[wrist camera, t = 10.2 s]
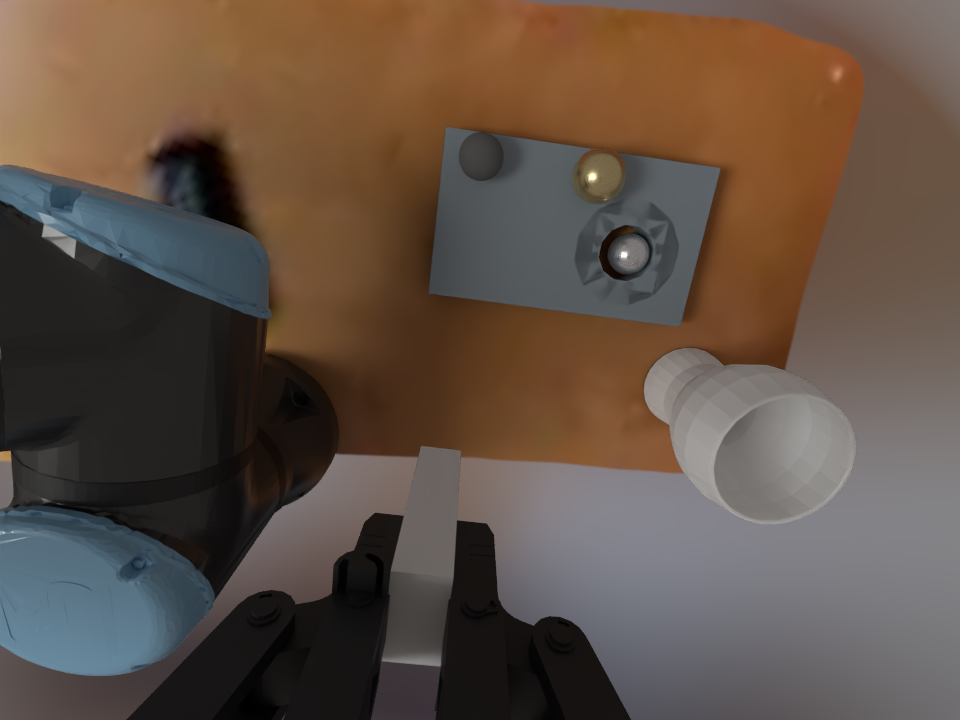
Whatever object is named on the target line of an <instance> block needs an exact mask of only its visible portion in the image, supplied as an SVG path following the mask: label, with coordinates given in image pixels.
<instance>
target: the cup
mask: <svg viewBox="0 0 960 720" xmlns="http://www.w3.org/2000/svg"><path fill="white" fill-rule="evenodd" d="M644 397H645V402H646V404H647V406H648V408H649V410H650V411H651V412H652V413H653V414H654V415H655V416H656V417H657V418H659V419H660V420H662V421H663V422H665V423H667V424H668V425H670V426H669V428H670V435H671V442H672V445H673V449H674V453H675V457H676V459H677V461H678V463H679V465H680V467H681V469H682V471H683V472H684V473H685V475H686V476H687V477H688V478H689V479H690V480H691V481H692V483H693V484H694V485H695V486H696V487H697V488H698V489H699V491H700V492H701V493H702V494H703V495H704V496H705V497H707V498H708V499H710V500H711V501H713V502H715V503H716V504H718V505H719V506H721V507H723V508H724V509H726V510H727V511H729V512H731V513H733V514H734V515H736V516H738V517H739V518H741V519H743V520H747V521H751V522H755V523H759V524H781V523H786V522H791V521H796V520H798V519H800V518H803V517H805V516H807V515H809V514H812V513H814V512H816V511H817V510H818V509H820V508H821V507H823V506H824V505H825V504H827V503H828V502H830V501H831V499H832V498H833V497H834V496H835V495H836V494H837V493H838V492H839V491H840V490H841V489H842V487H843V485H844V484H845V482H846V480H847V479H848V477H849V475H850V474H851V472H852V468H853V464H854V461H855V457H856V437H855V434H854V431H853V429H852V426H851V423H850V421H849V419H848V418H847V417H846V416H845V415H844V413H843V412H842V410H841V409H840V408H839V407H838V406H837V405H836V404H835V403H833V401H832V400H830V399H829V398H828V397H827V396H826V395H825V394H824V393H823V392H822V391H820V389H818V388H817V387H815V386H814V385H812V384H811V383H809V382H808V381H806V380H805V379H803V378H801V377H799V376H796V375H794V374H792V373H790V372H788V371H785V370H782V369H779V368H776V367H772V366H769V365H748V364H730V365H726V366H724V365H723V364H722V363H721V362H720V361H719V360H717V359H716V358H715V357H714V356H712V355H711V354H709V353H708V352H706V351H704V350H700V349H697V348H682V349H678V350H674V351H672V352H670V353H668V354H666V355H664V356H663V357H661V358H660V359H659V360H658V361H657V362H655V364H654V365H653V366H652V368H651V369H650V370H649V372H648V375H647V377H646V379H645V384H644Z"/></svg>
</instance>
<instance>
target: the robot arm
mask: <svg viewBox="0 0 960 720" xmlns="http://www.w3.org/2000/svg"><path fill="white" fill-rule="evenodd" d="M269 271H270V264H269V258H268V255H267V252H266V250H265V248H264V247H263V245H262V244H261V243H260V242H259V241H258V240H257V239H256V238H255V237H254V236H252V235H251V234H249V233H248V232H246V231H244V230H242V229H239V228H237V227H234V226H231V225H228V224H225V223H223V222H220V221H217V220H213V219H210V218H207V217H204V216H201V215H198V214H195V213H191V212H188V211H185V210H182V209H178V208H175V207H171V206H168V205H164V204H161V203H158V202H154V201H151V200H147V199H144V198H140V197H137V196H133V195H130V194H126V193H123V192H119V191H115V190H112V189H108V188H104V187H101V186H97V185H93V184H89V183H86V182H82V181H78V180H74V179H69V178H65V177H60V176H56V175H52V174H46V173H43V172H39V171H36V170H33V169H29V168H25V167H19V166H14V165H2V166H0V452H2V451H11V460H12V478H13V499H12V501H11V503H10V505H9V506H8V507H6V508H2V509H0V645H1V646H3V647H5V648H6V649H7V650H9V651H10V652H12V653H14V654H16V655H18V656H20V657H21V658H23V659H26V660H28V661H31V662H33V663H36V664H38V665H41V666H44V667H47V668H51V669H54V670H58V671H62V672H67V673H72V674H80V675H92V676H108V675H119V674H125V673H130V672H133V671H137V670H140V669H142V668H145V667H147V666H148V665H150V664H151V663H154V662H157V661H159V660H162V659H163V658H165V657H167V656H168V655H169V654H170V653H172V652H173V651H174V650H175V649H176V648H177V647H178V646H179V645H180V644H181V643H182V642H183V640H184V639H185V638H186V637H187V635H188V634H189V633H190V632H191V631H192V630H193V629H194V627H196V625H197V624H198V623H199V622H200V621H201V620H202V619H204V617H205V616H206V615H207V614H208V613H209V611H210V610H211V609H212V607H213V602H214V601H215V599H216V598H217V596H218V595H219V593H220V592H221V591H222V589H223V588H224V586H225V584H226V583H227V582H228V580H229V579H230V577H231V576H232V574H233V573H234V571H235V570H236V569H237V567H238V566H239V564H240V563H241V561H242V560H243V558H244V557H245V556H246V554H247V553H248V551H249V550H250V548H251V547H252V545H253V544H254V542H255V541H256V539H257V538H258V537H259V535H260V534H261V532H262V531H263V529H264V528H265V526H266V525H267V523H268V522H269V520H270V519H271V518H272V516H273V515H274V513H275V512H277V511H278V510H279V509H281V508H282V507H283V506H285V505H287V504H290V503H292V502H294V501H296V500H298V499H299V498H301V497H303V496H304V495H305V494H307V493H308V492H309V491H310V490H311V489H312V488H314V486H316V484H317V483H318V482H319V481H320V480H321V478H322V477H323V475H324V474H325V472H326V471H327V469H328V467H329V466H330V464H331V462H332V460H333V458H334V456H335V453H336V449H337V445H338V423H337V418H336V414H335V411H334V409H333V406H332V404H331V402H330V400H329V398H328V396H327V395H326V393H325V392H324V390H323V389H322V388H321V387H320V385H319V384H318V383H317V382H316V381H315V380H314V379H313V378H312V377H311V376H310V375H308V374H307V373H306V372H305V371H303V370H302V369H300V368H299V367H297V366H295V365H294V364H292V363H290V362H288V361H285V360H283V359H280V358H277V357H274V356H270V355H265V347H266V337H267V327H268V319H271V316H272V313H271V310H270V309H269ZM460 459H461V450H452V449H444V448H435V447H426V446H421V448H420V453H419V457H418V461H417V465H416V469H415V473H414V477H413V481H412V485H411V490H410V494H409V498H408V502H407V506H406V510H405V514H404V516H400V515H391V514H381V513H374V514H373V515H372V516H371V517H370V518H369V519H368V520H366V521H365V523H364V525H363V528H362V531H361V533H360V536H359V539H358V542H357V545H356V547H355V550H354V551H351V552H347V553H346V554H344V555H343V556H341V557H340V558H338V560H337V561H336V562H335V564H334V568H333V569H334V570H333V586H332V594H330V595H329V596H327V597H325V598H323V599H320V600H317V601H313V602H308V603H302V604H296V605H295V602H294V600H293V599H292V597H291V596H290V595H288V594H286V593H284V592H281V591H274V590H269V591H263V592H259V593H256V594H254V595H251V596H249V597H247V598H246V599H245V600H244V601H242V602H241V603H240V604H238V606H237V607H236V608H235V609H234V610H233V611H232V612H231V613H230V614H229V615H228V616H227V617H226V618H225V619H224V620H223V621H222V622H221V623H220V624H219V625H218V626H217V627H216V628H215V629H214V630H213V631H212V632H211V633H210V634H209V635H208V637H206V639H204V641H203V642H202V643H201V644H200V645H199V646H198V647H197V648H196V649H195V650H194V651H193V652H192V653H191V654H190V655H189V656H188V657H187V658H186V659H185V660H184V661H183V662H182V663H181V664H180V665H179V666H178V667H177V668H176V670H174V671H173V672H172V674H171V675H170V676H169V677H168V678H167V679H166V680H165V681H164V682H163V683H162V684H161V685H160V686H159V687H158V688H157V689H156V690H155V691H154V692H153V693H152V694H151V695H150V696H149V697H148V698H147V699H146V700H145V701H144V702H143V704H141V705H140V706H139V707H138V709H137V710H136V711H135V712H134V713H133V714H132V715H131V716H130V717H129V718H128V719H127V720H282V718H283V716H284V715H285V717H284V720H371V717H372V712H373V708H374V703H375V698H376V693H377V688H378V683H379V674H380V665H381V660H382V661H387V662H388V661H389V662H398V663H409V664H420V665H431V666H441V668H440V676H439V683H438V690H437V698H436V705H435V711H436V717H435V720H631V719H630V717H629V715H628V713H627V712H626V709H625V708H624V706H623V704H622V702H621V701H620V699H619V697H618V695H617V693H616V691H615V689H614V687H613V685H612V684H611V682H610V680H609V678H608V676H607V674H606V672H605V671H604V669H603V667H602V665H601V663H600V661H599V660H598V658H597V656H596V654H595V652H594V650H593V648H592V647H591V645H590V643H589V641H588V639H587V638H586V636H585V634H584V633H583V632H582V630H581V629H580V628H579V627H578V626H576V625H575V624H574V623H572V622H571V621H569V620H566V619H564V618H561V617H551V616H549V617H546V618H543V619H540V620H539V621H538V622H537V623H536V624H535V625H534V626H533V625H530V624H527V623H525V622H522V621H520V620H518V619H516V618H514V617H513V616H511V615H510V614H509V613H507V612H506V610H505V609H504V608H503V607H502V605H501V603H500V601H499V598H498V592H497V576H496V561H495V549H494V546H495V545H494V534H493V533H492V531H491V530H490V528H489V527H488V525H487V524H485V523H476V522H466V521H458V520H457V510H458V509H457V508H458V493H459V476H460ZM285 713H286V714H285Z"/></svg>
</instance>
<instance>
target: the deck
mask: <svg viewBox="0 0 960 720" xmlns="http://www.w3.org/2000/svg"><path fill="white" fill-rule="evenodd" d="M476 132H477V131H471V130H464V129H457V128H451V127H446V131H445V141H444V150H443V160H442V169H441V179H440V188H439V198H438V207H437V217H436V226H435V236H434V245H433V255H432V264H431V274H430V284H429V293H428V294H436V295H443V296H451V297H458V298H466V299H473V300H481V301H488V302H496V303H503V304H511V305H518V306H526V307H533V308H541V309H548V310H556V311H563V312H571V313H578V314H586V315H593V316H601V317H608V318H616V319H623V320H631V321H638V322H646V323H654V324H661V325H669V326H676V327H680V325H681V321H682V317H683V313H684V309H685V306H686V302H687V298H688V294H689V290H690V286H691V282H692V278H693V274H694V270H695V267H696V263H697V259H698V255H699V251H700V247H701V243H702V239H703V235H704V232H705V228H706V224H707V220H708V216H709V212H710V208H711V204H712V200H713V197H714V193H715V189H716V185H717V181H718V177H719V173H720V169H721V168H717V167H710V166H703V165H697V164H690V163H683V162H677V161H670V160H663V159H657V158H650V157H643V156H637V155H630V154H624V153H618V154H619V155H620V156H621V158H622V159H623V161H624V164H625V167H626V180H625V184H624V186H623V188H622V190H621V191H620V193H619V194H618V195H617V196H616V197H615V198H614V199H612V200H611V201H609V202H606V203H604V204H590V203H587V202H585V201H583V200H582V199H581V198H580V197H579V196H578V195H577V194H576V192H575V191H574V188H573V185H572V172H573V169H574V166H575V164H576V162H577V161H578V159H579V158H580V157H581V156H582V155H583V154H584V153H586V152H587V151H589V150H592V149H590V148H584V147H577V146H570V145H564V144H557V143H550V142H544V141H537V140H531V139H524V138H517V137H511V136H504V135H497V134H491V133H489V134H491V135H493V136H494V137H496V138H497V139H498V141H499V142H500V144H501V146H502V148H503V153H504V160H503V165H502V167H501V169H500V171H499V172H498V173H497V175H495V176H494V177H493V178H491V179H489V180H486V181H476V180H473V179H471V178H470V177H468V176H467V175H466V174H465V173H464V172H463V170H462V168H461V166H460V163H459V150H460V147H461V144H462V143H463V141H464V140H465V139H466V138H467V137H468V136H469V135H471V134H473V133H476ZM616 153H617V152H616ZM621 226H628V227H631V228H632V229H633V230H634V231H635V232H637V233H638V234H639V235H640V236H641V237H642V238H644V239H645V241H646V242H647V244H648V246H649V250H650V254H649V259H648V262H647V263H646V265H645V266H644V267H643V268H642V269H641V270H640V271H638V272H636V273H633V274H629V275H626V276H624V277H621V278H612V277H610V276H609V275H608V274H607V273H605V272H604V271H603V269H602V266H601V263H600V260H599V253H600V248H601V243H602V241H603V240H604V239H605V238H606V236H607V235H608V234H609V233H610V232H611V230H614V229H616V228H618V227H621Z"/></svg>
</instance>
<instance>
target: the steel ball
mask: <svg viewBox="0 0 960 720" xmlns="http://www.w3.org/2000/svg"><path fill="white" fill-rule="evenodd" d="M649 254H650V250H649V246H648V244H647V242H646V241H645V239H644V238H642V237H641V236H639V235H637V234H632V233H628V234H623V235H621V236H619V237H617V238H616V239H615V240H614V241H613V242H612V243H611V245H610V247H609V250H608V261H609V263H610V265H611V267H612V268H613V269H614V270H615V271H617V272H619V273H621V274H633V273H636V272H638V271H640V270H641V269H642V268H643V267H644V266H645V265H646V263H647V262H648V259H649Z"/></svg>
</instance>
